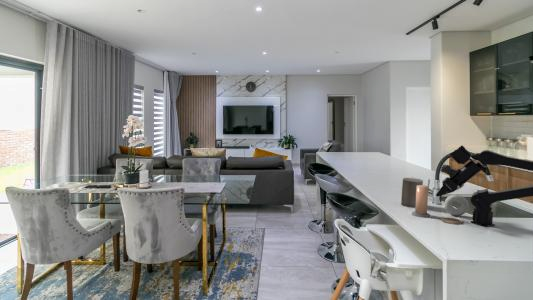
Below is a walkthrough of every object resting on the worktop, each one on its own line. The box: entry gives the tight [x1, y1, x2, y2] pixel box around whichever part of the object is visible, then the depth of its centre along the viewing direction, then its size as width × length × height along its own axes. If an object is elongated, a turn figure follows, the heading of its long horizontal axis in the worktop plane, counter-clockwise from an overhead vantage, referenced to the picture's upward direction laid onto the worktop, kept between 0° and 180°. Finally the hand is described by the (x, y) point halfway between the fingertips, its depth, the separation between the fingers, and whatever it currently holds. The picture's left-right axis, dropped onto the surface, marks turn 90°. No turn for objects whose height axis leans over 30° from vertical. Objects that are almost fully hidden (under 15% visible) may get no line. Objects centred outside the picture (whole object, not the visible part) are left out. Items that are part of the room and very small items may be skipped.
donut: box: [443, 194, 470, 217], centre depth 152 cm, size 10×3×10 cm, turn 68°
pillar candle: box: [400, 176, 424, 209], centre depth 169 cm, size 10×10×15 cm
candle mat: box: [411, 210, 431, 218], centre depth 153 cm, size 8×8×1 cm
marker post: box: [414, 185, 430, 215], centre depth 152 cm, size 5×5×13 cm
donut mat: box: [440, 217, 462, 225], centre depth 143 cm, size 8×8×1 cm
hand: (438, 194), depth 149 cm, fingers open, 9 cm apart
